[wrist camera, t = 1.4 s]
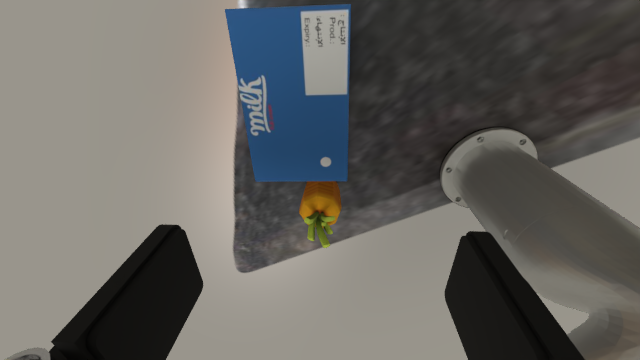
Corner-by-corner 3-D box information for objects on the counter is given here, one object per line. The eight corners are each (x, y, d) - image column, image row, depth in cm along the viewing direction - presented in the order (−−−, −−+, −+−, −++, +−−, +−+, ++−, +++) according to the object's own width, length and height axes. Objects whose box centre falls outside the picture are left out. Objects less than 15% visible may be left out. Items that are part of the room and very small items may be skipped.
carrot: (304, 155, 39) (289, 220, 26) (338, 152, 39) (340, 217, 26) (309, 184, 42) (297, 257, 29) (341, 182, 41) (343, 255, 28)
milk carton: (287, 17, 31) (224, 8, 13) (342, 15, 30) (350, 3, 13) (294, 105, 36) (255, 182, 18) (341, 104, 35) (347, 182, 18)
